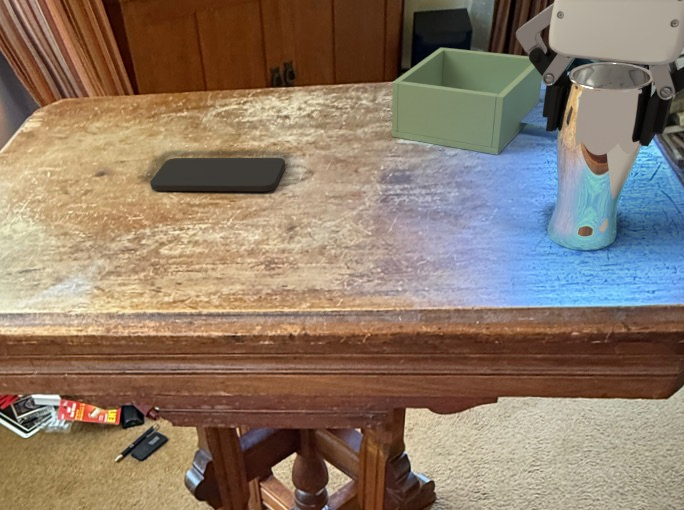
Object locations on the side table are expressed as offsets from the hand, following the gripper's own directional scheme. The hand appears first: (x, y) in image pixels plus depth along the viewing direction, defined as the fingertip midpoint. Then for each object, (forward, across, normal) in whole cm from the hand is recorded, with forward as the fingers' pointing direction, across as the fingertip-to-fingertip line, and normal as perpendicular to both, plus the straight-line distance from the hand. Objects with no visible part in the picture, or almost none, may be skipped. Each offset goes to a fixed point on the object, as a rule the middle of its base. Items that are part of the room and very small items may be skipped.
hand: (600, 131), depth 62 cm
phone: (+10, +40, +5) cm, 42 cm away
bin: (+10, +20, -20) cm, 30 cm away
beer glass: (+10, 0, 0) cm, 10 cm away
